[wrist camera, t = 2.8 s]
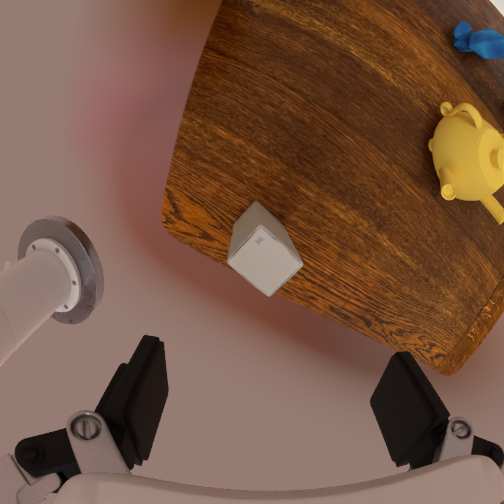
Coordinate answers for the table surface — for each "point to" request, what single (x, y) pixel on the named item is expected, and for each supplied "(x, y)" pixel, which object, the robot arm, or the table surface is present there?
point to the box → (262, 250)
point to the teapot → (468, 157)
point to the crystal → (479, 41)
